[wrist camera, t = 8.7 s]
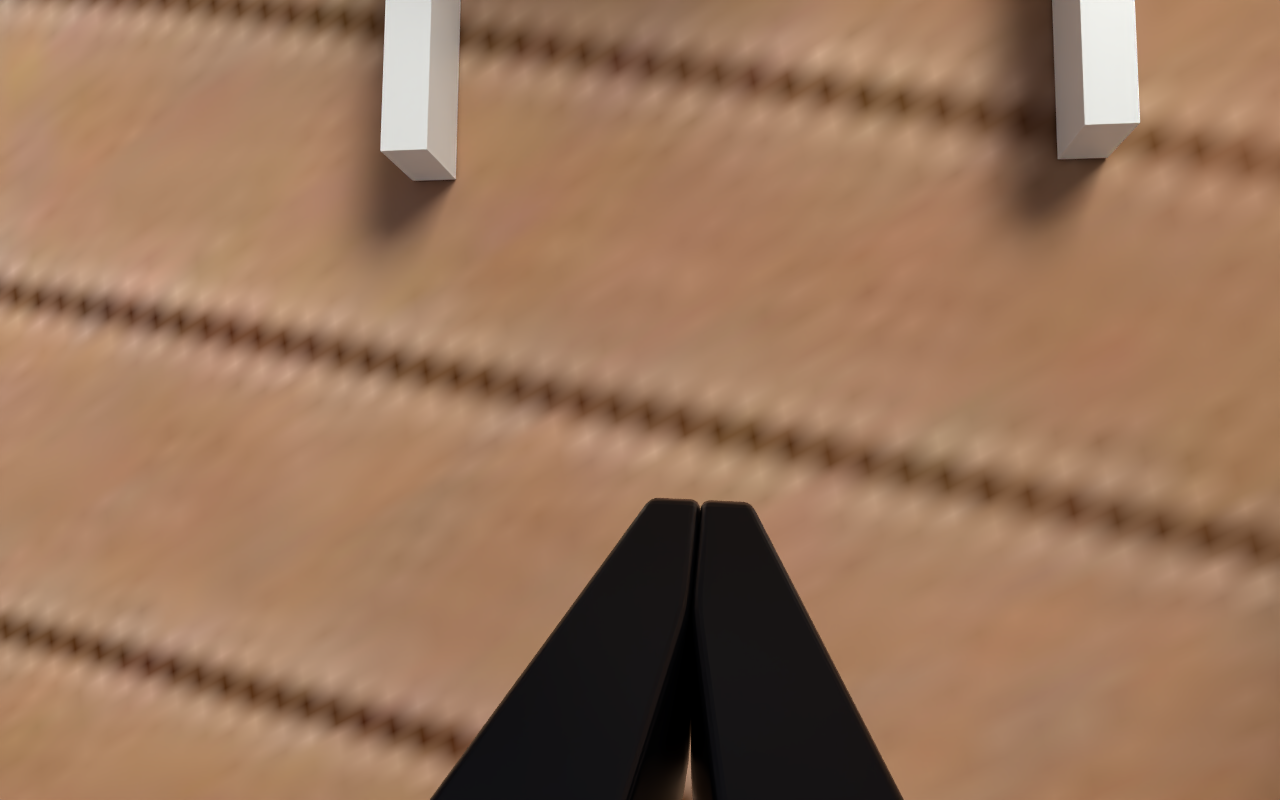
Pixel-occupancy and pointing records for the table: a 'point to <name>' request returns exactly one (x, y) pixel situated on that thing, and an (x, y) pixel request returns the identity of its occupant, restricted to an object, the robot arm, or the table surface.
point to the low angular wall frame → (429, 73)
